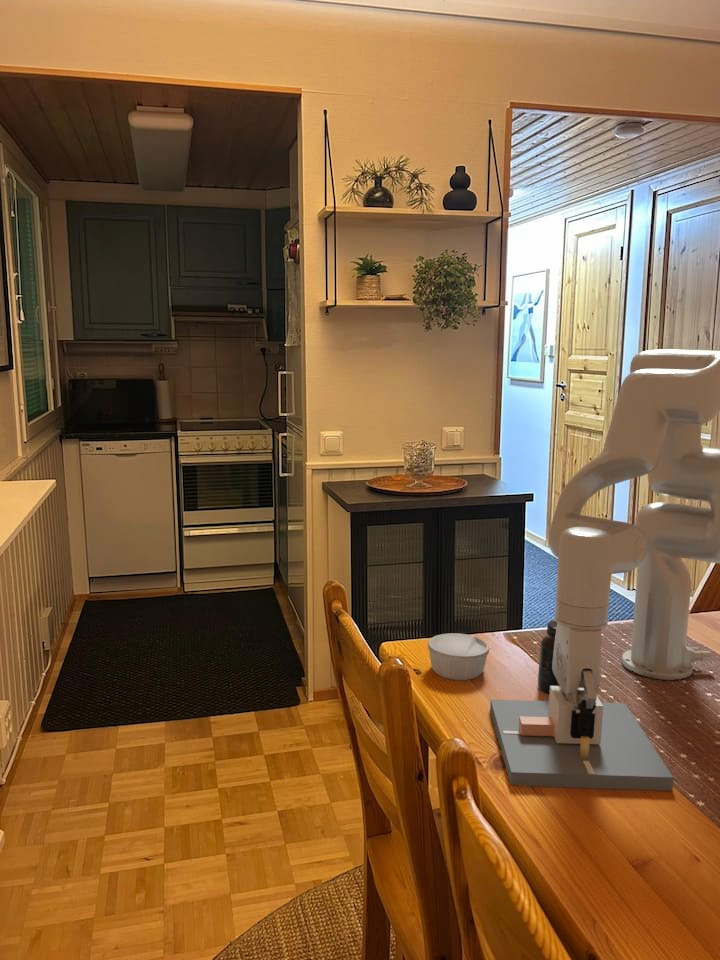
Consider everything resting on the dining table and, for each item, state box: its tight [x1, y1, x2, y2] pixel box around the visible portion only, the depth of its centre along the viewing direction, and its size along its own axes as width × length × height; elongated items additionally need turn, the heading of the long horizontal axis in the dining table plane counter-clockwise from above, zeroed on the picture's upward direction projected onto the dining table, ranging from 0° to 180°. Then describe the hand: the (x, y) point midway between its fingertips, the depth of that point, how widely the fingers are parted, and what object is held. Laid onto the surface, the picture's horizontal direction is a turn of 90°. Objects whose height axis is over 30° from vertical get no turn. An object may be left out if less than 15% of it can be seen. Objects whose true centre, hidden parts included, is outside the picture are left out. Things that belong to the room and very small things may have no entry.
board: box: [489, 694, 674, 792], centre depth 116 cm, size 22×22×9 cm
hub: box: [519, 686, 603, 744], centre depth 116 cm, size 11×6×6 cm, turn 88°
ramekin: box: [427, 632, 490, 681], centre depth 143 cm, size 11×11×5 cm
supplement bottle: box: [537, 620, 558, 695], centre depth 135 cm, size 7×7×12 cm
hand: (573, 721), depth 116 cm, fingers open, 9 cm apart
